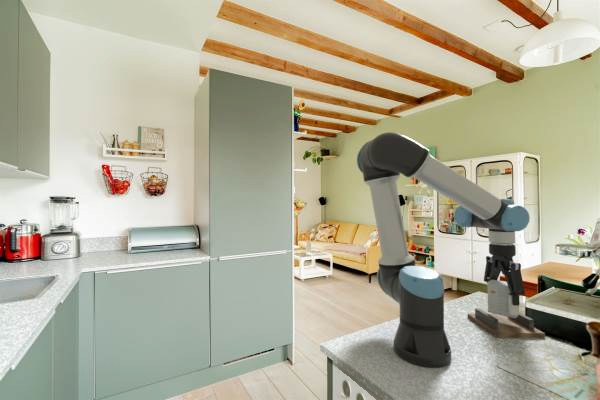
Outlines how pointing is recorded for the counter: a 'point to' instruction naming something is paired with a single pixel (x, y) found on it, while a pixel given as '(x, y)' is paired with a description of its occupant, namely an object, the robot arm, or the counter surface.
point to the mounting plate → (506, 325)
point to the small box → (498, 298)
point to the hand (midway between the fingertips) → (503, 308)
